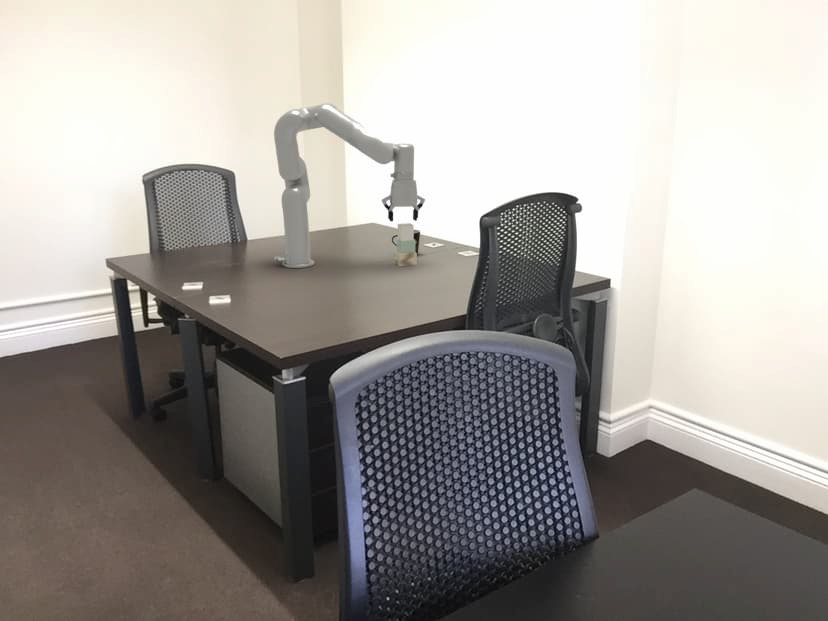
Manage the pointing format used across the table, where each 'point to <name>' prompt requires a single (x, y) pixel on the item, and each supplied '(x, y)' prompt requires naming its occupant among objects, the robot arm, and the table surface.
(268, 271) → the table surface
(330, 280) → the table surface
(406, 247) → the tower mid
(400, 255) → the tower base
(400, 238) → the top block
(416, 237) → the coffee mug
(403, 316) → the table surface
